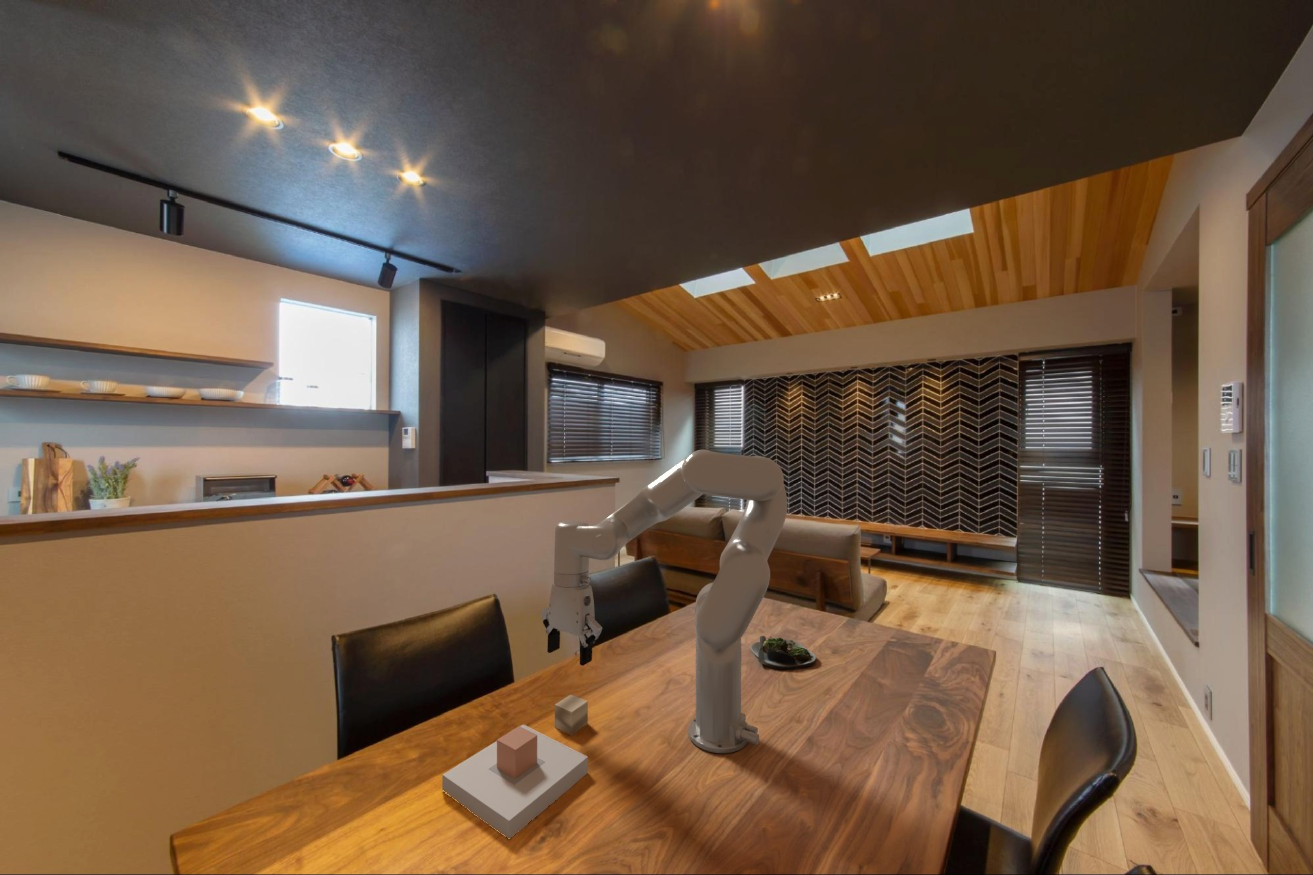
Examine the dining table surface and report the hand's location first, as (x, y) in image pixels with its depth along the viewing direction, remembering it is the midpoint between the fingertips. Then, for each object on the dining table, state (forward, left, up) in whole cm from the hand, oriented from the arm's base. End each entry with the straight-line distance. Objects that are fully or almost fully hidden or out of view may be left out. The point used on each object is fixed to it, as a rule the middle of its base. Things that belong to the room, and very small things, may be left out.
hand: (569, 656), depth 103 cm
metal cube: (0, 0, -15) cm, 15 cm away
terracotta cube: (-4, +18, -12) cm, 22 cm away
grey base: (-4, +18, -15) cm, 24 cm away
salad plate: (-27, -58, -16) cm, 66 cm away
